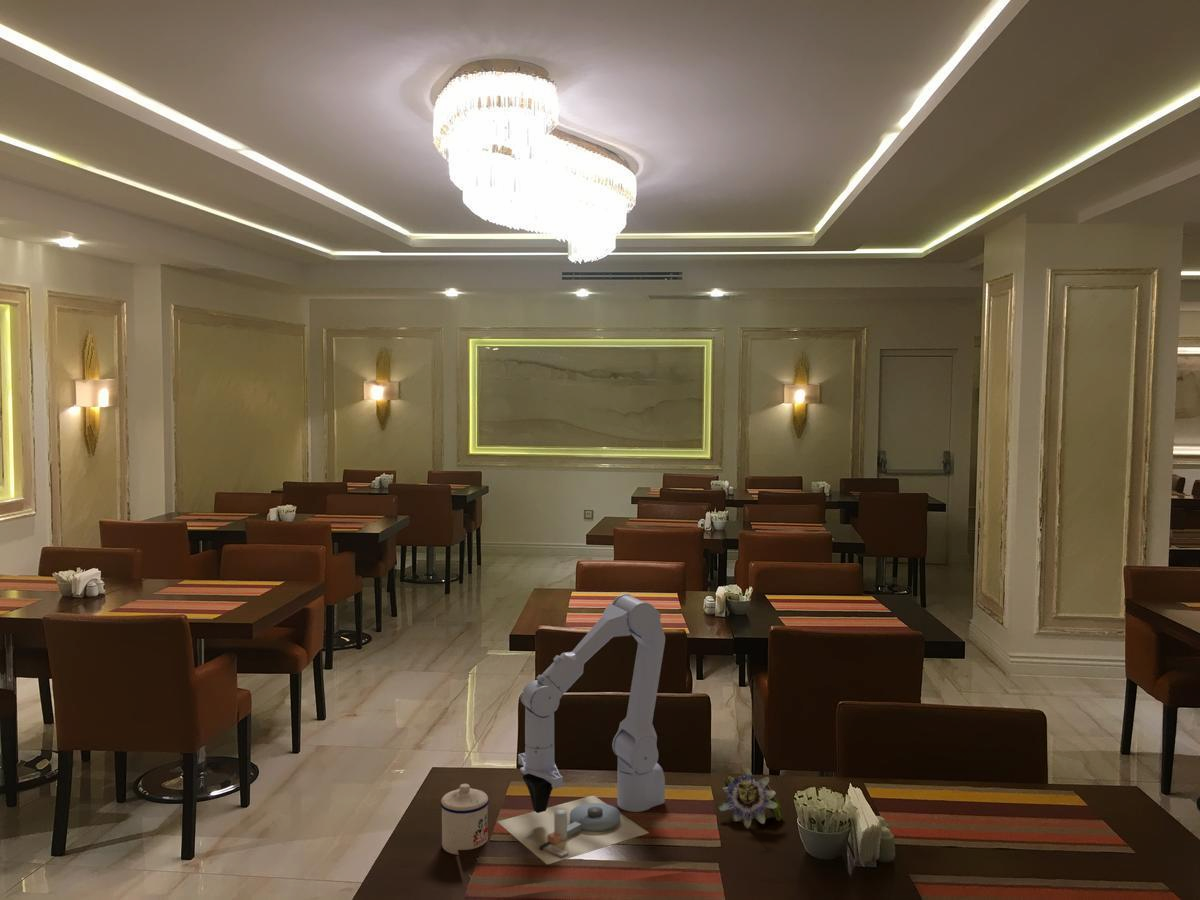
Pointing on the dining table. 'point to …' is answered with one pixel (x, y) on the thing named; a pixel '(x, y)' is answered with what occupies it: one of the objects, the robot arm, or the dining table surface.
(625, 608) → the robot arm
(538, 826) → the cream flat board
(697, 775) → the dining table surface
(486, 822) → the teacup with lid
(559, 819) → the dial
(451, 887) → the dining table surface
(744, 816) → the passion flower
